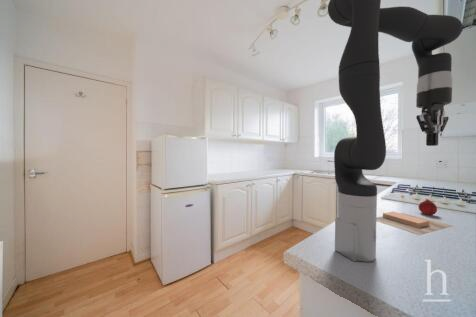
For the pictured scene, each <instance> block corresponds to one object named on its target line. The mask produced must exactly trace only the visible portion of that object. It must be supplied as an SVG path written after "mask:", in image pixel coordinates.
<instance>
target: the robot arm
mask: <svg viewBox="0 0 476 317" xmlns="http://www.w3.org/2000/svg"><path fill="white" fill-rule="evenodd" d="M327 13H328V16H329V19H331V21H332V22H334V23H335V24H337V25H339V26H342V27H347V28H350V33H349V36H348V38H347V41H346V44H345V47H344V49H343V53H342V55H341V58H340V61H339V65H338V88H339V90H338V91H339V93H340V96H341V98H342V100H343V101H344V102H345V104H346V105H347V107H348V108H349V109H350V111H351V112H352V114H353V117H354V120H355V127H356V128H355V129H356V136H350V137H343V138H342V139H340V140H339V141H338V142H337V143H336V145H335V148H334V154H333V155H334V156H333V159H334V160H333V162H334V180H335V183H336V186H337V217H336V218H335V220H334V250H335V251H336V252H338V253H339V254H341V255H343V256H344V257H346V258H348V259H350V260H351V261H353V262H357V261H359V262H365V263H366V262H367V263H368V262H369V263H370V262H373V261H376V259H377V258H376V257H377V221H376V218H377V214H378V213H377V209H378V208H377V206H378V205H377V204H378V202H377V201H378V186H377V185H376V184H375V183H374V182H372V181H371V180H369V179H368V178H367V177H366V176H365V175H364V173H363V171H376V170H378V169H380V168H381V167H382V166H383V164H384V162H385V159H386V156H387V143H386V138H385V136H386V135H385V131H384V124H383V117H382V108H381V104H382V103H381V91H380V90H381V89H380V86H381V84H380V83H381V82H380V81H381V72H380V70H381V69H380V67H381V66H380V54H379V51H380V50H379V33H382V34H384V35H385V34H386V35H387V36H390V37H393V38H396V39H398V40H400V41H403V42H405V43H411V51H412V54H413V56H414V58H415V61H416V64H417V68H418V69H417V72H418V73H417V77H418V78H417V84H416V97H415V98H416V100H415V102H416V108H417V109H421V110H420V111H421V114H419V115H416V120H417V123H418V125H419V128H420V130H421V132H423V133H424V134H425V135H426V137H425V139H426V140H425V144H426V146H427V147H428V146H429V147H430V146H431V147H433V146H438V145H439V134H440V133H441V132H444V130H445V128H446V125H447V124H448V121H449V120H450V119H449V116H448V115H447V116H445V115H446V114H445V113H446V112H445V109H444V108H445V107H444V106H446V105H449V104H451V103H452V102H453V100H452V99H453V74H452V55H451V53H450V52H439V53H435V54H433V51H435V50H437V49H439V48H441V47H444V46H446V45H448V44H451V43H452V42H454V41H455V40H457V39H458V38H459V37H460V35H461V34H462V32H463V26H464V25H463V23H462V21H461V20H460V19H459V18H458V17H456V16H452V15H448V14H447V15H446V14H427V13H426V12H423V11H422V10H419V9H418V8H414V7H412V6H392V7H381V0H329V2H328V5H327Z"/></svg>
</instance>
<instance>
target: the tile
mask: <svg viewBox="0 0 476 317" xmlns="http://www.w3.org/2000/svg"><path fill="white" fill-rule="evenodd" d="M401 213H402V212H396V211H388V212H387V211H386V212H383V213H382V216H383V217H385V218H388V219H391V220H395V221H398V222H401V223H405V224H408V225H411V226H415V227H418V228H419V227H423V226H427V225H429V221H428V220H429V219H428V220H424V219H425V218H424V219H420V218H421V217H420V218H416V217H417V216H416V217H412V216H408V215H405V214H406V213H405V214H401Z"/></svg>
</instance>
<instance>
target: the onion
mask: <svg viewBox="0 0 476 317" xmlns="http://www.w3.org/2000/svg"><path fill="white" fill-rule="evenodd" d="M418 210H419V211H420V213H422V214H423V215H426V216H433V215H435V214H436V213H437V211H438V207H437V205H436V204H435V203H434V202H432V201H431V200H430V198H425V200H423V201H421V202H419V204H418Z"/></svg>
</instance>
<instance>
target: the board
mask: <svg viewBox="0 0 476 317" xmlns="http://www.w3.org/2000/svg"><path fill="white" fill-rule="evenodd" d="M400 213H401V214H405V215H408V216H412V217H416V218H420V219H424V220H428V221H429V225H427V226H423V227H419V228H418V227H415V226H411V225H408V224H405V223H401V222H398V221H395V220H391V219H388V218H385V217H383V215H382V216H378V217H377V216H376V222H379V223H381V224H384V225H387V226H391V227H394V228H396V229H399V230H402V231H406V232H409V233H411V234H415V235H417V236H420V235H424V234H428V233H432V232H436V231H439V230H442V229H446V228H450V227H453V225H451V224H447V223H445V222H444V223H443V222H440V221H436V220H433V219H432V220H431V219H428V218H424V217H421V216H416V215H412V214H408V213H405V212H400Z"/></svg>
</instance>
